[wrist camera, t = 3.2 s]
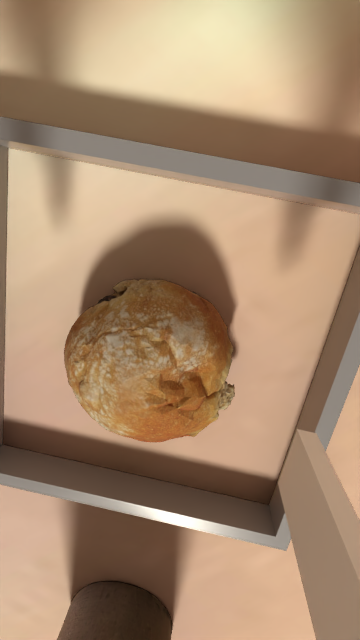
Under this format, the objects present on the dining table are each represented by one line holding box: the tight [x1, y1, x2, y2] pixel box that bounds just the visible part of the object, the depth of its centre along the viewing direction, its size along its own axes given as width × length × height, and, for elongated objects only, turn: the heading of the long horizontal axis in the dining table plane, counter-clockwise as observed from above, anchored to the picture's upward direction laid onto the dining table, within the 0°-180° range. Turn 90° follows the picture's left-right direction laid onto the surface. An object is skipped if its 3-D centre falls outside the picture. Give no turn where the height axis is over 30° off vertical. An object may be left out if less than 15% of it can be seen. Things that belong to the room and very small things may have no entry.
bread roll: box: [64, 279, 235, 442], centre depth 18 cm, size 10×10×8 cm
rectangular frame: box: [0, 117, 360, 551], centre depth 19 cm, size 23×23×2 cm
